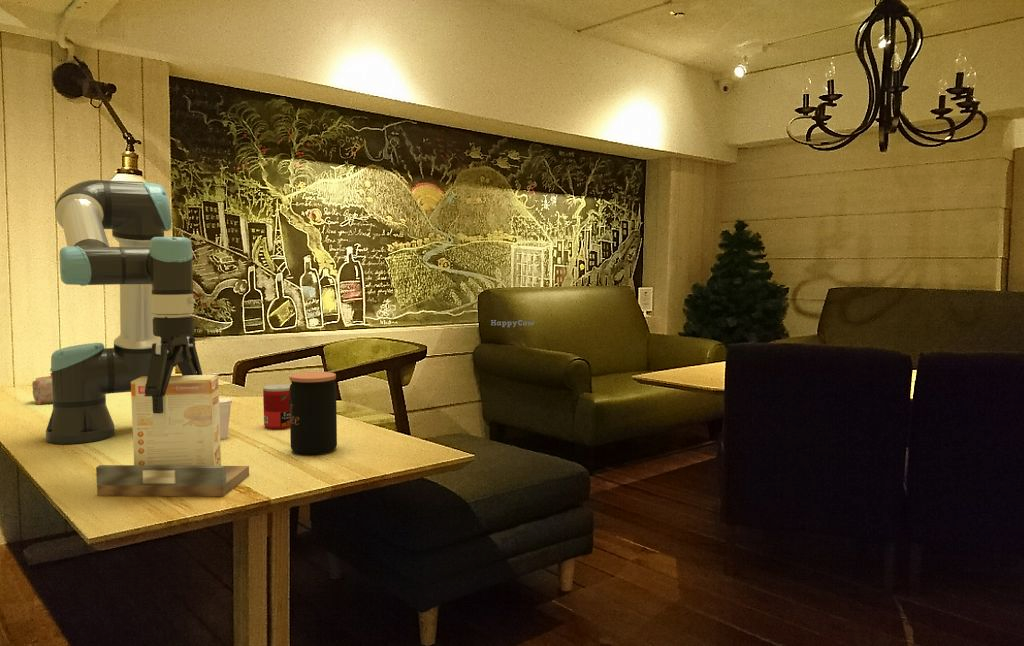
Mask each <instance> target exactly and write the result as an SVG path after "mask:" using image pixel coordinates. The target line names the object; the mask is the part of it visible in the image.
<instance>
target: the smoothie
mask: <svg viewBox="0 0 1024 646" xmlns="http://www.w3.org/2000/svg"><path fill="white" fill-rule="evenodd" d="M232 404H233V399H232V398H230V397H219V414H220V441H221V440H226V439H227V438H228V436H229V435H228V434H229V426H230V419H231V418H230V417H231V410H232V409H231V408H232Z"/></svg>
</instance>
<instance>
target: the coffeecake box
mask: <svg viewBox="0 0 1024 646" xmlns="http://www.w3.org/2000/svg"><path fill="white" fill-rule="evenodd" d="M147 377H148V376H143V377H139V378H137V379H135V380H133V381H131V392H130V395H131V417H132V419H131V420H132V421H131V423H132V442H133V443H132V445H133V447H132V448H133V465H179V466H222V453H221V452H222V451H221V450H222V449H221V446H222V445H221V440H220V414H219V398H220V393H219V392H220V391H219V389H220V388H219V387H220V386H219V374H202V375H182V374H181V375H171V377H170V380H169V383H168V387H167V390H166V393H165V395H168V416H169V429H168V430H153V418H152V396H146V394H145V387H146V382H147Z"/></svg>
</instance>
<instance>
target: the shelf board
mask: <svg viewBox="0 0 1024 646" xmlns="http://www.w3.org/2000/svg"><path fill="white" fill-rule="evenodd" d="M95 474H96V496H99V497H100V496H101V497H105V496H106V497H107V496H108V497H109V496H111V497H113V496H114V497H115V496H116V497H122V496H123V497H129V496H130V497H147V496H148V497H224V496H226V495H227V494H228V493H229V492H231V491H232V490H233V489H234V488H235V487H237V486H238V485H240V484H241V483H242V482H243V481H244V480H245V479H247V478H248V477H250V465H221V466H179V465H134V464H133V465H132V464H127V465H126V464H125V465H124V464H122V465H121V464H119V465H118V464H115V465H114V464H99V465H97V466H96V467H95Z"/></svg>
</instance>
